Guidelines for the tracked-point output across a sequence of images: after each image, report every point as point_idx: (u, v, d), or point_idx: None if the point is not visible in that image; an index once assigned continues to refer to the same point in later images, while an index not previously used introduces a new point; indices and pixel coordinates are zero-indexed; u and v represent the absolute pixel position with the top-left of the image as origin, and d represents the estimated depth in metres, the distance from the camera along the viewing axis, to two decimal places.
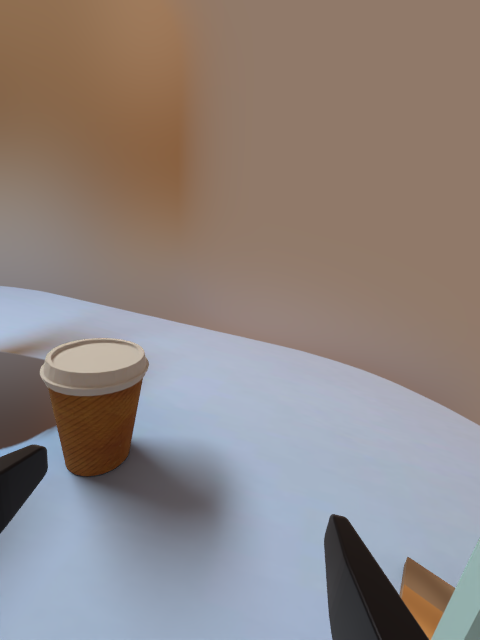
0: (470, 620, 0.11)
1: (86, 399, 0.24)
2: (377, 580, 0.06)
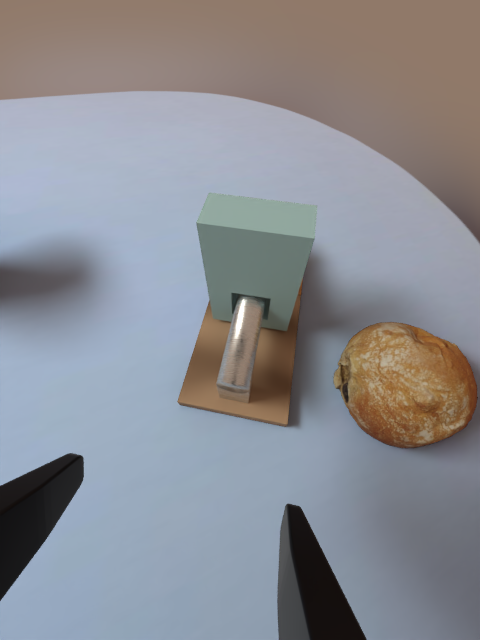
0: (201, 245, 0.18)
1: None
2: (317, 565, 0.06)
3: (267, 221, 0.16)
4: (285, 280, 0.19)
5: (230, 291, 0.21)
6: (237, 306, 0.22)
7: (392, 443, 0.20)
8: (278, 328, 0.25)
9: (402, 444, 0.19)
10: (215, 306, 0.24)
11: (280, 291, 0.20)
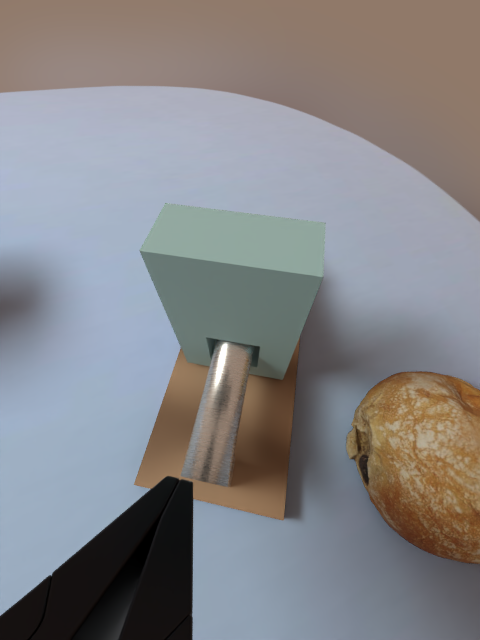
0: None
1: None
2: (179, 530, 0.06)
3: (250, 249, 0.10)
4: (279, 328, 0.13)
5: (205, 336, 0.16)
6: (215, 355, 0.16)
7: (434, 554, 0.14)
8: (272, 376, 0.19)
9: (449, 558, 0.14)
10: (188, 350, 0.18)
11: (272, 339, 0.14)
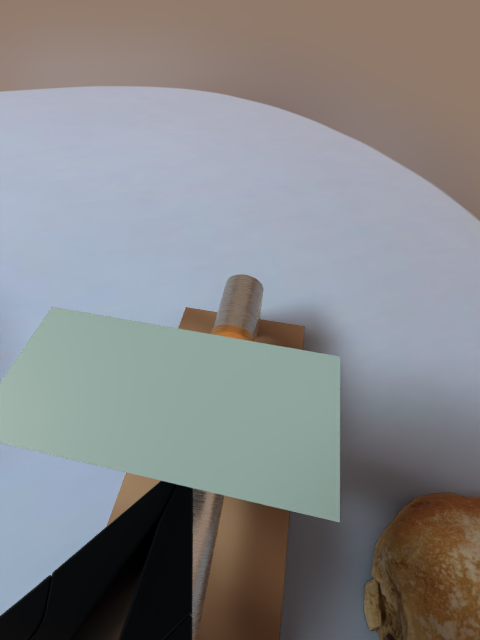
0: None
1: None
2: (179, 530, 0.06)
3: (189, 430, 0.05)
4: None
5: None
6: None
7: None
8: None
9: None
10: None
11: None
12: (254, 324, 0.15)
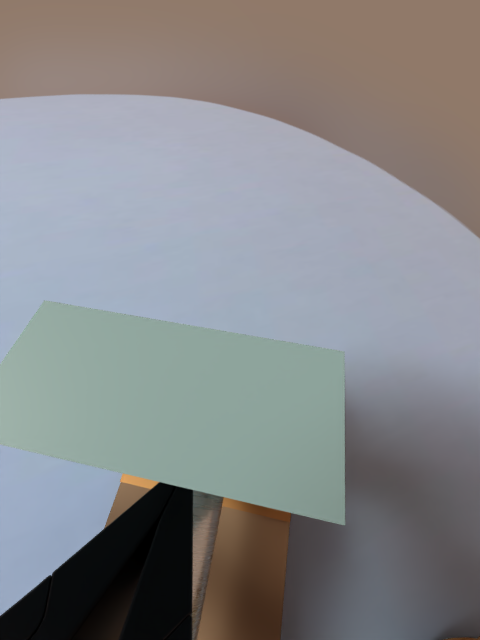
0: None
1: None
2: (179, 530, 0.06)
3: (187, 429, 0.05)
4: None
5: None
6: None
7: None
8: None
9: None
10: None
11: None
12: None
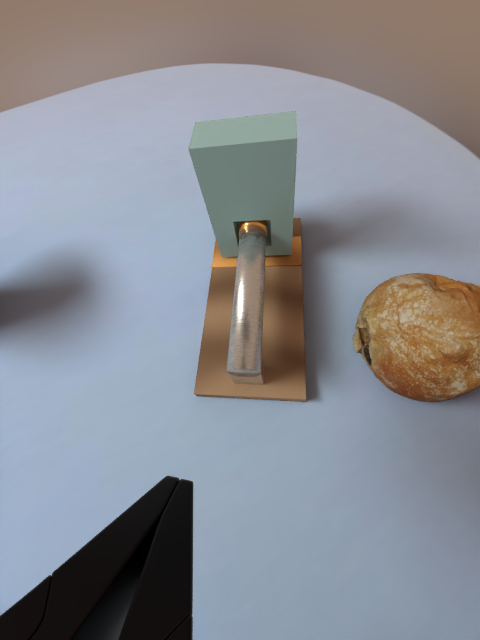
0: (197, 175, 0.20)
1: None
2: (179, 529, 0.06)
3: (252, 134, 0.17)
4: (280, 194, 0.20)
5: (232, 221, 0.23)
6: (235, 289, 0.21)
7: (423, 399, 0.19)
8: (283, 253, 0.26)
9: (434, 398, 0.19)
10: (221, 242, 0.25)
11: (276, 208, 0.22)
12: None
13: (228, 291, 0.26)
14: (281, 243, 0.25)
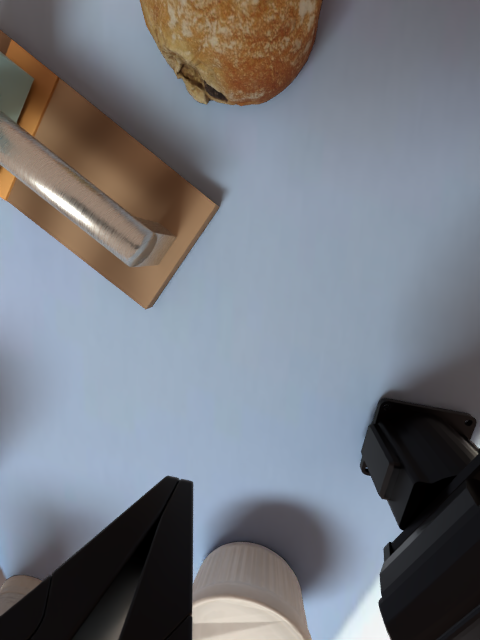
0: None
1: None
2: (179, 530, 0.06)
3: None
4: None
5: None
6: (35, 191, 0.15)
7: (294, 70, 0.15)
8: (26, 88, 0.17)
9: (301, 56, 0.14)
10: None
11: None
12: None
13: None
14: (2, 77, 0.16)
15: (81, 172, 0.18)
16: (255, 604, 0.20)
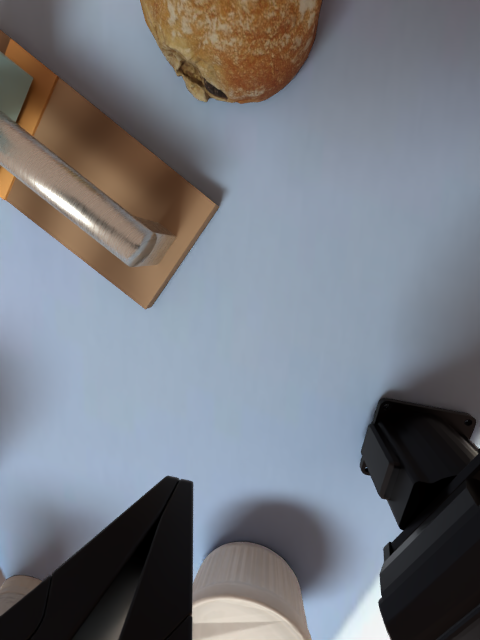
0: None
1: None
2: (179, 530, 0.06)
3: None
4: None
5: None
6: (34, 190, 0.15)
7: (294, 67, 0.15)
8: (25, 87, 0.17)
9: (301, 53, 0.14)
10: None
11: None
12: None
13: None
14: (1, 76, 0.16)
15: (80, 172, 0.18)
16: (255, 604, 0.20)
